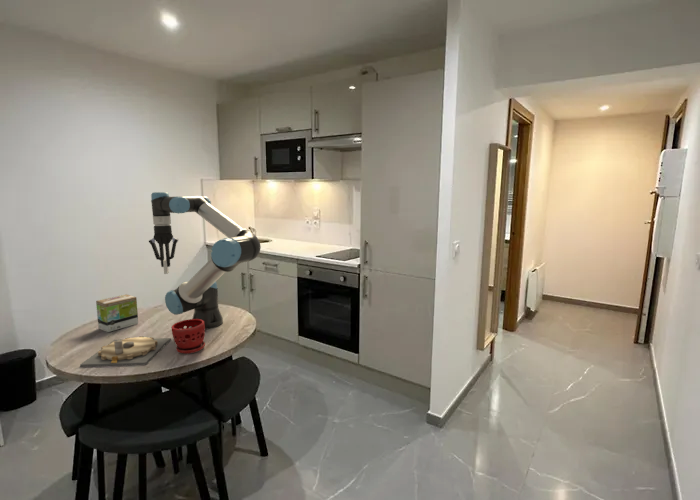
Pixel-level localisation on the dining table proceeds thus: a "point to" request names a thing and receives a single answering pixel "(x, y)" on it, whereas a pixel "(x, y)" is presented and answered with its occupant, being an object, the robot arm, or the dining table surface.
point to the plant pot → (189, 335)
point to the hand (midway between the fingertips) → (166, 273)
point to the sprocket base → (139, 360)
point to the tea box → (117, 312)
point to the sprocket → (127, 348)
